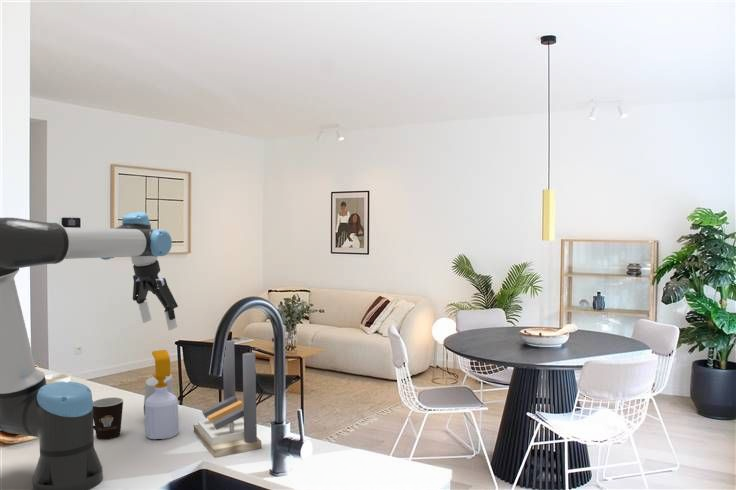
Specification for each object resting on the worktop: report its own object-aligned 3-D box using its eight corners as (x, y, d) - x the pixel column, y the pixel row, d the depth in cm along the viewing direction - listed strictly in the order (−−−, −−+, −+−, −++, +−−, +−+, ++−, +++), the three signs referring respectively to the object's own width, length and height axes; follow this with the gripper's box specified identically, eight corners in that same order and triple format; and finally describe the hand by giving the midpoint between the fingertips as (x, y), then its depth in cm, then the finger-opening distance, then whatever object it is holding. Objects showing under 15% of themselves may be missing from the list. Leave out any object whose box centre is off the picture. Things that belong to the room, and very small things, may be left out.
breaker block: (212, 445, 165) (211, 427, 165) (198, 428, 178) (197, 411, 178) (255, 437, 171) (254, 419, 171) (238, 421, 184) (238, 405, 184)
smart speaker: (137, 421, 191) (136, 376, 190) (161, 413, 199) (160, 370, 198) (158, 426, 186) (156, 381, 185) (181, 417, 194) (180, 374, 193)
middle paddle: (211, 423, 171) (209, 418, 171) (208, 421, 173) (207, 416, 173) (244, 407, 176) (242, 402, 175) (241, 405, 178) (239, 400, 177)
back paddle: (206, 418, 176) (204, 413, 175) (203, 415, 178) (202, 411, 178) (238, 402, 180) (236, 397, 180) (235, 400, 182) (233, 395, 182)
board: (214, 457, 162) (214, 449, 162) (193, 431, 181) (193, 425, 181) (261, 447, 168) (261, 440, 168) (236, 424, 187) (236, 417, 187)
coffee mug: (129, 430, 182) (128, 397, 182) (115, 441, 174) (113, 406, 173) (92, 429, 183) (91, 396, 183) (76, 440, 175) (74, 406, 174)
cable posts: (246, 443, 166) (244, 356, 165) (222, 419, 185) (221, 341, 184) (258, 441, 168) (257, 354, 166) (233, 417, 187) (232, 340, 186)
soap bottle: (173, 427, 185) (171, 346, 184) (182, 436, 178) (180, 352, 176) (142, 433, 180) (140, 350, 179) (150, 442, 173) (147, 356, 171)
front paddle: (216, 429, 166) (214, 424, 166) (214, 427, 168) (212, 422, 168) (250, 412, 171) (248, 407, 170) (247, 410, 173) (245, 405, 173)
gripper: (180, 262, 184) (194, 326, 191) (132, 254, 199) (146, 313, 205) (159, 270, 179) (174, 336, 185) (111, 261, 193) (127, 322, 200)
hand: (159, 324), depth 195 cm, fingers open, 13 cm apart
